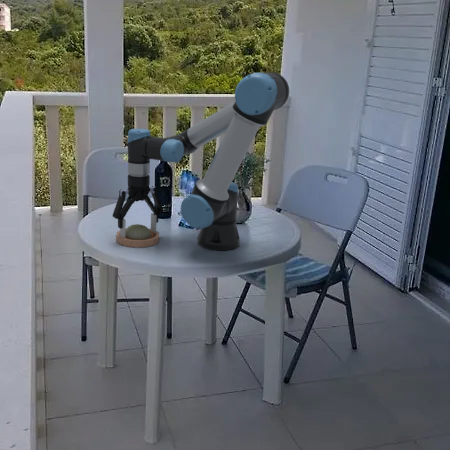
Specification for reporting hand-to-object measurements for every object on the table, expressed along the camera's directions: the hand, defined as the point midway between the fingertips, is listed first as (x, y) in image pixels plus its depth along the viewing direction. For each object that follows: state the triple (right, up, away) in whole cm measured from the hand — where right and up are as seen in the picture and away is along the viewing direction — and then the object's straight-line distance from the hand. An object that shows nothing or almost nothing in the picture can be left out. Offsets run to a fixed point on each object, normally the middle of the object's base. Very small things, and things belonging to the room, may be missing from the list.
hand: (138, 234), depth 203 cm
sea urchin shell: (0, -2, +1) cm, 2 cm away
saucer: (0, -2, +1) cm, 2 cm away
